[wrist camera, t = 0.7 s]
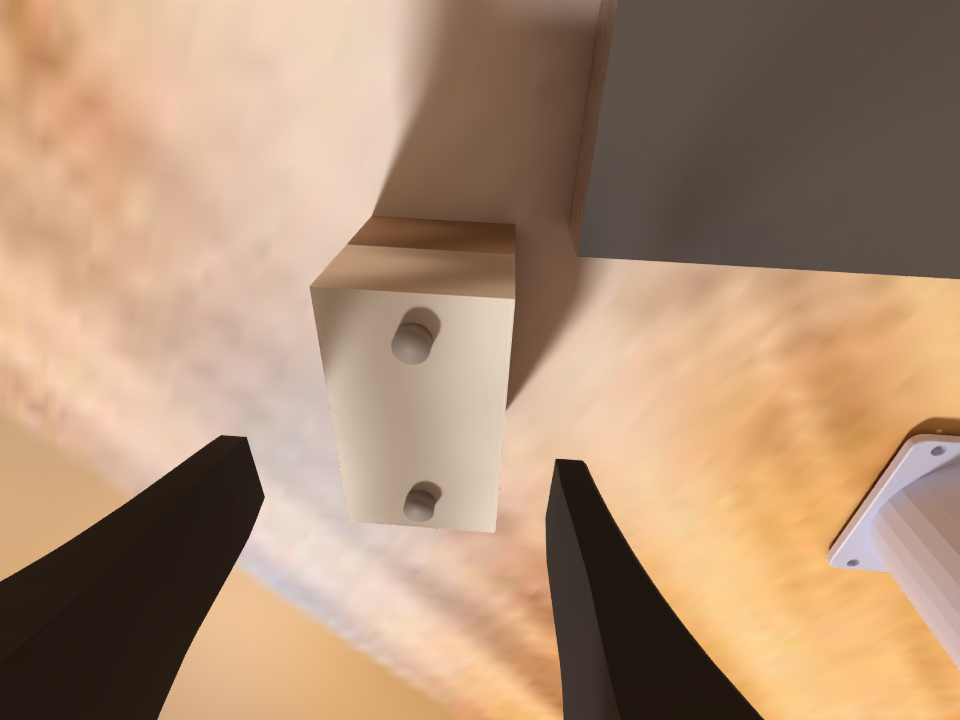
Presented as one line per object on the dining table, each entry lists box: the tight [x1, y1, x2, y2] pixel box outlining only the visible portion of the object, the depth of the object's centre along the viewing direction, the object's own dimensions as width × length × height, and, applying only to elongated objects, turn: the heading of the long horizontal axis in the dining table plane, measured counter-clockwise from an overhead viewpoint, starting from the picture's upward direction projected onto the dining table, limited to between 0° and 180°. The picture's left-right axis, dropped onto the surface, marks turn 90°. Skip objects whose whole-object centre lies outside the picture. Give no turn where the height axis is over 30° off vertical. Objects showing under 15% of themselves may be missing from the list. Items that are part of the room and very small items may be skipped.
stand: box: [569, 0, 960, 279], centre depth 11 cm, size 11×10×2 cm
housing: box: [310, 216, 515, 533], centre depth 15 cm, size 5×8×6 cm, turn 178°
